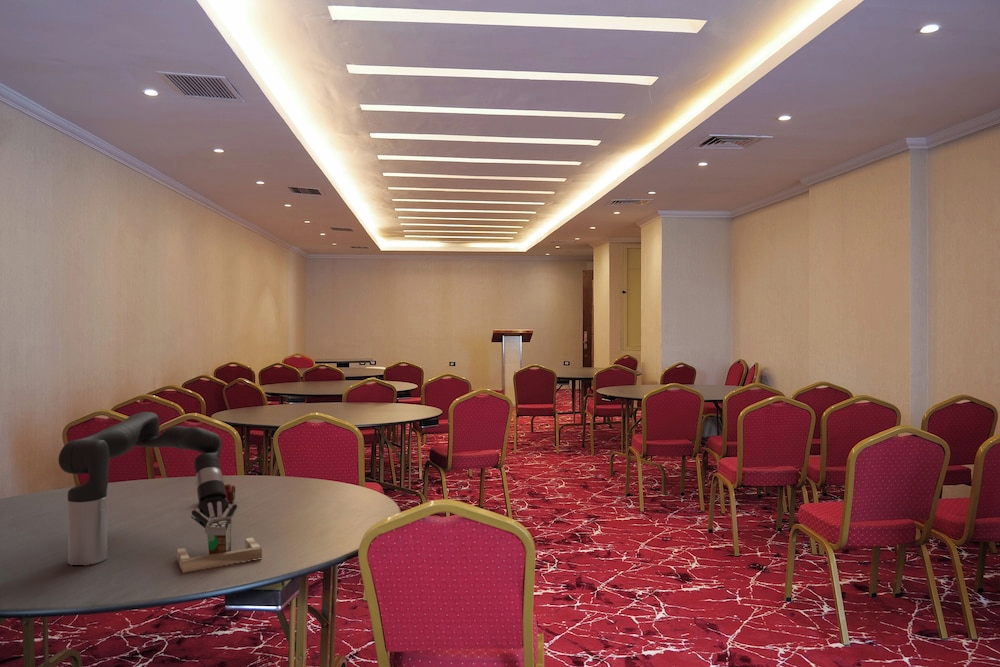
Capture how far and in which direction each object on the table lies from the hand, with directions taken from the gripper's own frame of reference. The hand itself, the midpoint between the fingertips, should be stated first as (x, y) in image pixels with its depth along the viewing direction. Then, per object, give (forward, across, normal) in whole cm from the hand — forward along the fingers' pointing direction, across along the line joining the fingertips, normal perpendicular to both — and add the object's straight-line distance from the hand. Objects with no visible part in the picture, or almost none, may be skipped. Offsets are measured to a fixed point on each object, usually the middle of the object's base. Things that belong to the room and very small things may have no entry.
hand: (218, 538), depth 195 cm
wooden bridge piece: (+6, +1, 0) cm, 6 cm away
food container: (+6, +1, 0) cm, 6 cm away
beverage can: (-39, -10, -48) cm, 63 cm away
